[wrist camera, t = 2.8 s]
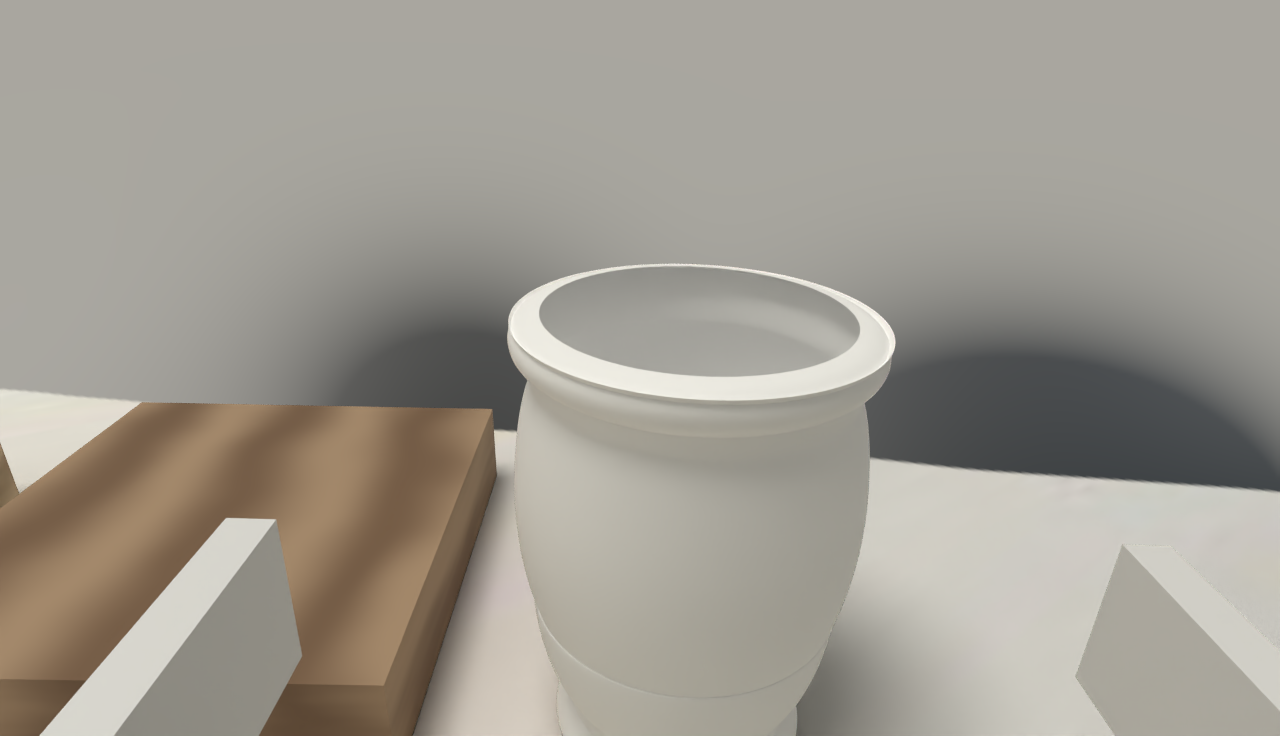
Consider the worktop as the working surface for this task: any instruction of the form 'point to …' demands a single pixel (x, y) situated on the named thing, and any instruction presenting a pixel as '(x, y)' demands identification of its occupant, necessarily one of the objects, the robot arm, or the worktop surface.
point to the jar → (691, 489)
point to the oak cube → (6, 481)
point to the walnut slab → (309, 534)
